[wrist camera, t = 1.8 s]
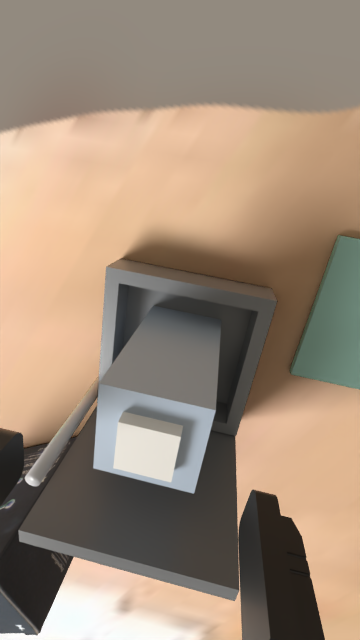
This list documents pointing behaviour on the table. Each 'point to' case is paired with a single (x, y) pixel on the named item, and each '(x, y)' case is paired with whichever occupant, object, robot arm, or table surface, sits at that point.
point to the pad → (334, 322)
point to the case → (144, 497)
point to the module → (160, 400)
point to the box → (27, 556)
